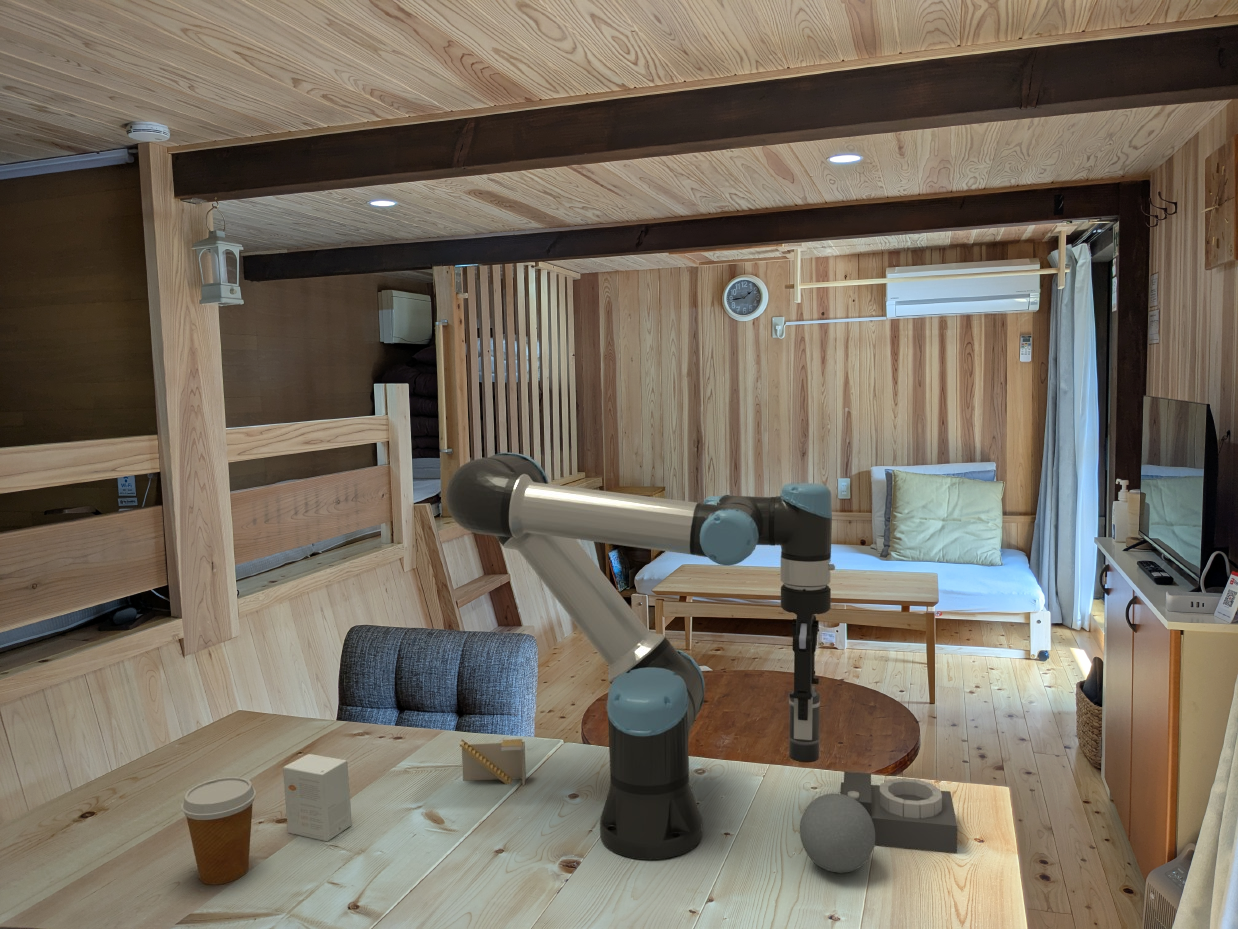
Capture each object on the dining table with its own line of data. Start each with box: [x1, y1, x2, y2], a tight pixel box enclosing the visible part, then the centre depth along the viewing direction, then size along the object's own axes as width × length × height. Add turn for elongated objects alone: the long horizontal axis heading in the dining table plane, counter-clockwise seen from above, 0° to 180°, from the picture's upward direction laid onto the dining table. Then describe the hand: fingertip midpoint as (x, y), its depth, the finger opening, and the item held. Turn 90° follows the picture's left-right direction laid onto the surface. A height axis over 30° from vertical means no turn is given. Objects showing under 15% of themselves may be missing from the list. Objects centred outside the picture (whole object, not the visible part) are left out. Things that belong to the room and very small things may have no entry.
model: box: [459, 738, 527, 786], centre depth 154 cm, size 3×11×8 cm, turn 92°
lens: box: [788, 689, 821, 764], centre depth 141 cm, size 5×5×10 cm
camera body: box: [839, 771, 958, 854], centre depth 134 cm, size 16×11×7 cm
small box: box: [282, 753, 353, 842], centre depth 139 cm, size 8×6×10 cm
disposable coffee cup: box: [180, 776, 257, 885], centre depth 127 cm, size 10×10×12 cm
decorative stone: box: [799, 793, 876, 874], centre depth 123 cm, size 10×10×10 cm
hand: (804, 731), depth 141 cm, fingers closed on lens, 5 cm apart
